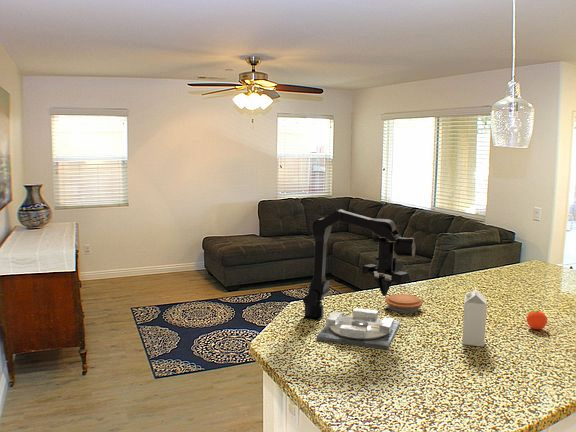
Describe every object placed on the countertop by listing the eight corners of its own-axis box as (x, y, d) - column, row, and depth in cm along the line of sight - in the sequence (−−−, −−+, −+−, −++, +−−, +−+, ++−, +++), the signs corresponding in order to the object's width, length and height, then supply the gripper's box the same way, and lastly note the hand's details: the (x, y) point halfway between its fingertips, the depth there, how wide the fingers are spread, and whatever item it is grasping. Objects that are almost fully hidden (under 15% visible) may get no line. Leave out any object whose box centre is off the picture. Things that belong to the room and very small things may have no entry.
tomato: (520, 328, 196) (521, 309, 195) (526, 323, 201) (527, 305, 200) (542, 333, 190) (544, 314, 189) (549, 328, 195) (550, 310, 194)
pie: (431, 310, 216) (431, 298, 215) (404, 317, 208) (404, 305, 207) (403, 301, 229) (403, 289, 228) (377, 307, 220) (377, 296, 219)
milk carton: (483, 339, 185) (486, 287, 182) (484, 347, 178) (487, 293, 175) (462, 337, 187) (465, 285, 184) (462, 344, 180) (464, 291, 177)
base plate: (316, 340, 184) (316, 335, 184) (335, 317, 208) (335, 313, 207) (387, 350, 176) (387, 345, 175) (399, 325, 199) (399, 321, 198)
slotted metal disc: (320, 334, 185) (320, 325, 184) (337, 314, 206) (337, 305, 205) (385, 343, 177) (385, 333, 176) (396, 321, 198) (396, 312, 197)
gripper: (420, 255, 190) (418, 297, 192) (380, 247, 204) (379, 286, 206) (400, 260, 183) (399, 303, 185) (361, 251, 197) (360, 291, 199)
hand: (384, 295), depth 194 cm, fingers closed
